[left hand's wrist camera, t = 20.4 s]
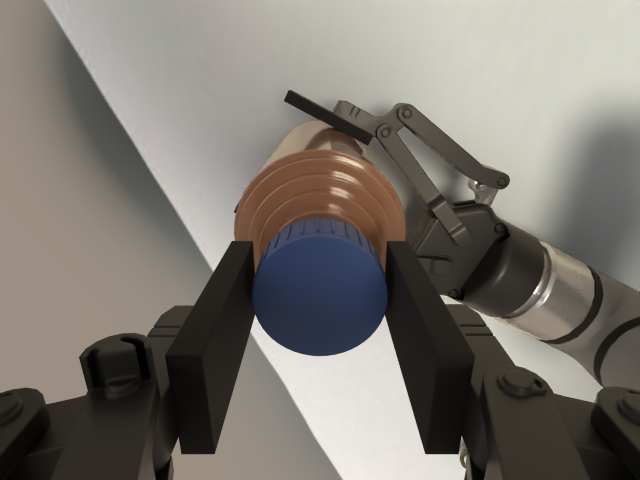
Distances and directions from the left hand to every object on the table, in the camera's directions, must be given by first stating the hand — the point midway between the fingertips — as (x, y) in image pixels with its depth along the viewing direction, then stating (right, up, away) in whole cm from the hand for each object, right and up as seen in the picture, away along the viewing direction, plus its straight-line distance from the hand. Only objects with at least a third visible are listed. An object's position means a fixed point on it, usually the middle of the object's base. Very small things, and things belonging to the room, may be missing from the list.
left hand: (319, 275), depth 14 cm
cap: (0, -1, -1) cm, 2 cm away
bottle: (0, +8, +21) cm, 23 cm away
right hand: (-4, +8, +14) cm, 17 cm away
